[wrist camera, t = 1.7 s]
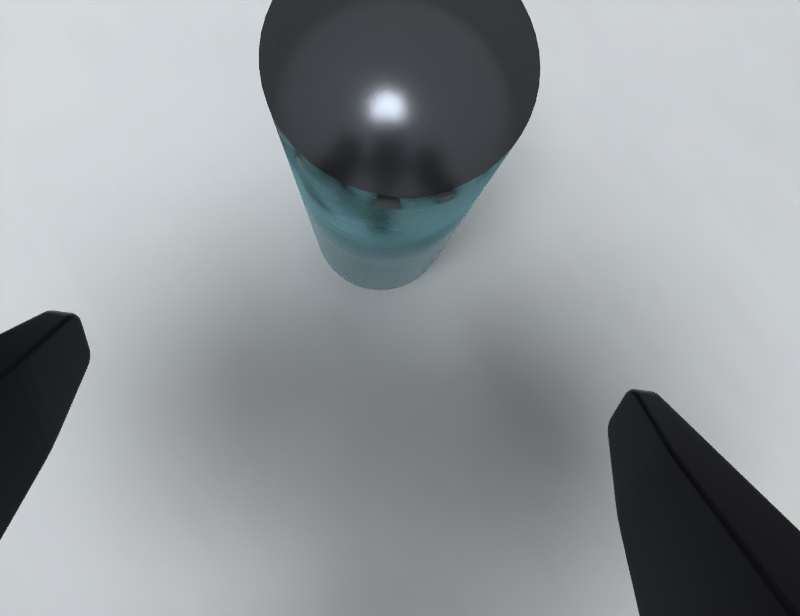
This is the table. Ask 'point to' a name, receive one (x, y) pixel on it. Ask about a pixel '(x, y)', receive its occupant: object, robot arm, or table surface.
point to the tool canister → (395, 119)
